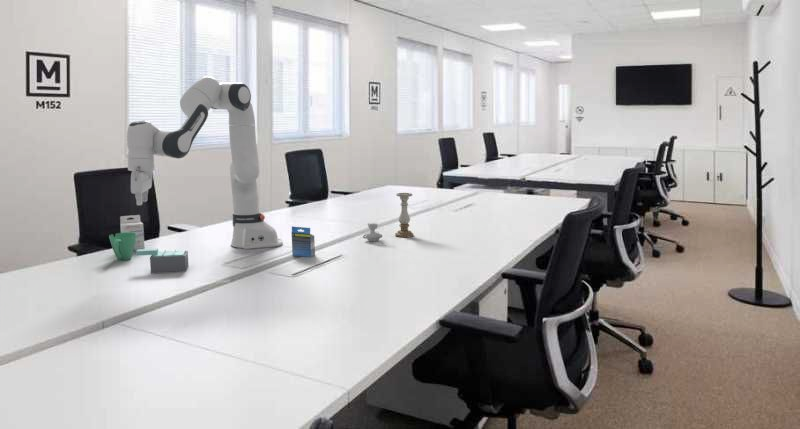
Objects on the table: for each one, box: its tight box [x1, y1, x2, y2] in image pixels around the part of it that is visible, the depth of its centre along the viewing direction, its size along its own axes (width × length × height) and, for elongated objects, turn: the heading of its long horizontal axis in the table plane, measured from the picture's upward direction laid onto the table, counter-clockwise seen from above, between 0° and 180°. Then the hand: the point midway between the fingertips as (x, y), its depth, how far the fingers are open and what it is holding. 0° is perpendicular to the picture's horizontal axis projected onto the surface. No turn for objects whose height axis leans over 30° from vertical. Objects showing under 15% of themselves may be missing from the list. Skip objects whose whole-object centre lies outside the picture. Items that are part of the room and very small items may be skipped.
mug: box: [108, 232, 136, 262], centre depth 247 cm, size 15×10×10 cm
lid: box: [136, 248, 187, 257], centre depth 229 cm, size 16×8×3 cm, turn 102°
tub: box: [149, 250, 189, 274], centre depth 230 cm, size 12×9×7 cm
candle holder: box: [394, 192, 414, 238], centre depth 297 cm, size 9×9×20 cm
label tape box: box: [291, 226, 316, 258], centre depth 256 cm, size 9×4×12 cm, turn 71°
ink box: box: [119, 214, 146, 252], centre depth 266 cm, size 8×5×15 cm, turn 123°
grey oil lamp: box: [362, 222, 383, 243], centre depth 285 cm, size 9×7×8 cm
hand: (142, 203), depth 229 cm, fingers open, 8 cm apart
